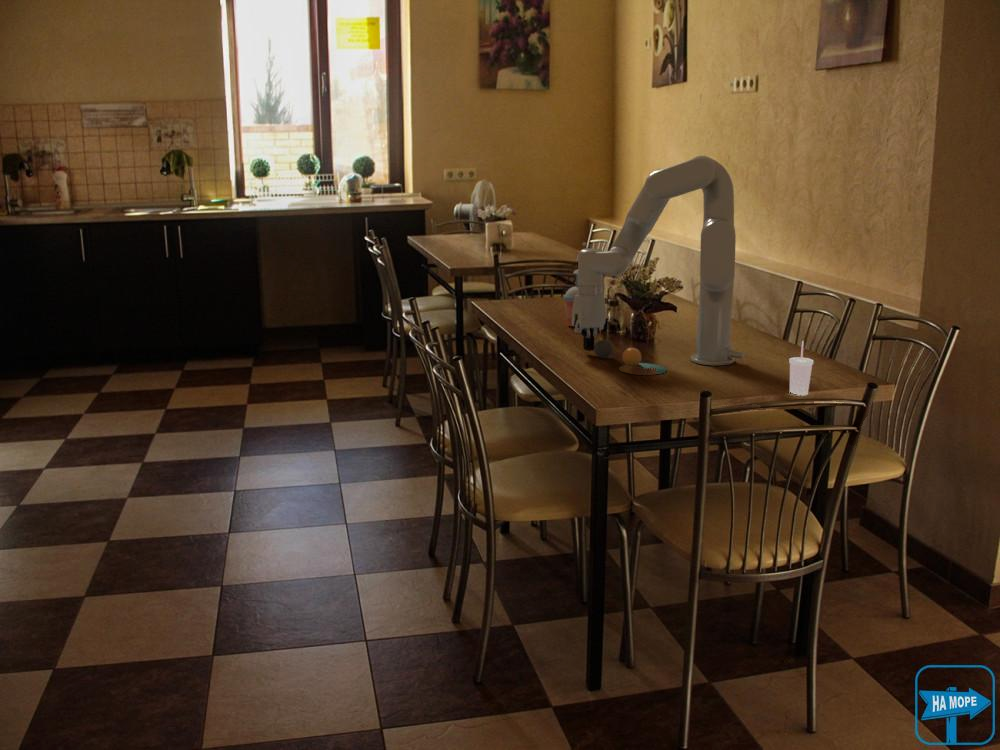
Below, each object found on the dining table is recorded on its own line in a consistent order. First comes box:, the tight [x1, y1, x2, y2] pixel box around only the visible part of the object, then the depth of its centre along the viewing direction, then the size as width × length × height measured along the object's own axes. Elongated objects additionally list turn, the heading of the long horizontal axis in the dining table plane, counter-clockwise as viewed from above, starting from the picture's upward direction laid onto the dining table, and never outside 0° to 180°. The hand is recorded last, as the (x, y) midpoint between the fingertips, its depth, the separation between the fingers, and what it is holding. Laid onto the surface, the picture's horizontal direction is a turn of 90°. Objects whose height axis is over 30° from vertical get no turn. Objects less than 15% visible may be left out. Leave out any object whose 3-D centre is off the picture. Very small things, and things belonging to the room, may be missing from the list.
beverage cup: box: [788, 340, 814, 397], centre depth 254 cm, size 6×6×14 cm
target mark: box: [639, 362, 668, 375], centre depth 279 cm, size 14×14×1 cm
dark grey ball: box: [593, 339, 613, 359], centre depth 292 cm, size 6×6×6 cm
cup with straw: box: [563, 274, 578, 327], centre depth 336 cm, size 9×9×18 cm
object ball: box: [622, 347, 642, 366], centre depth 282 cm, size 6×6×6 cm
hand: (588, 349), depth 297 cm, fingers closed
